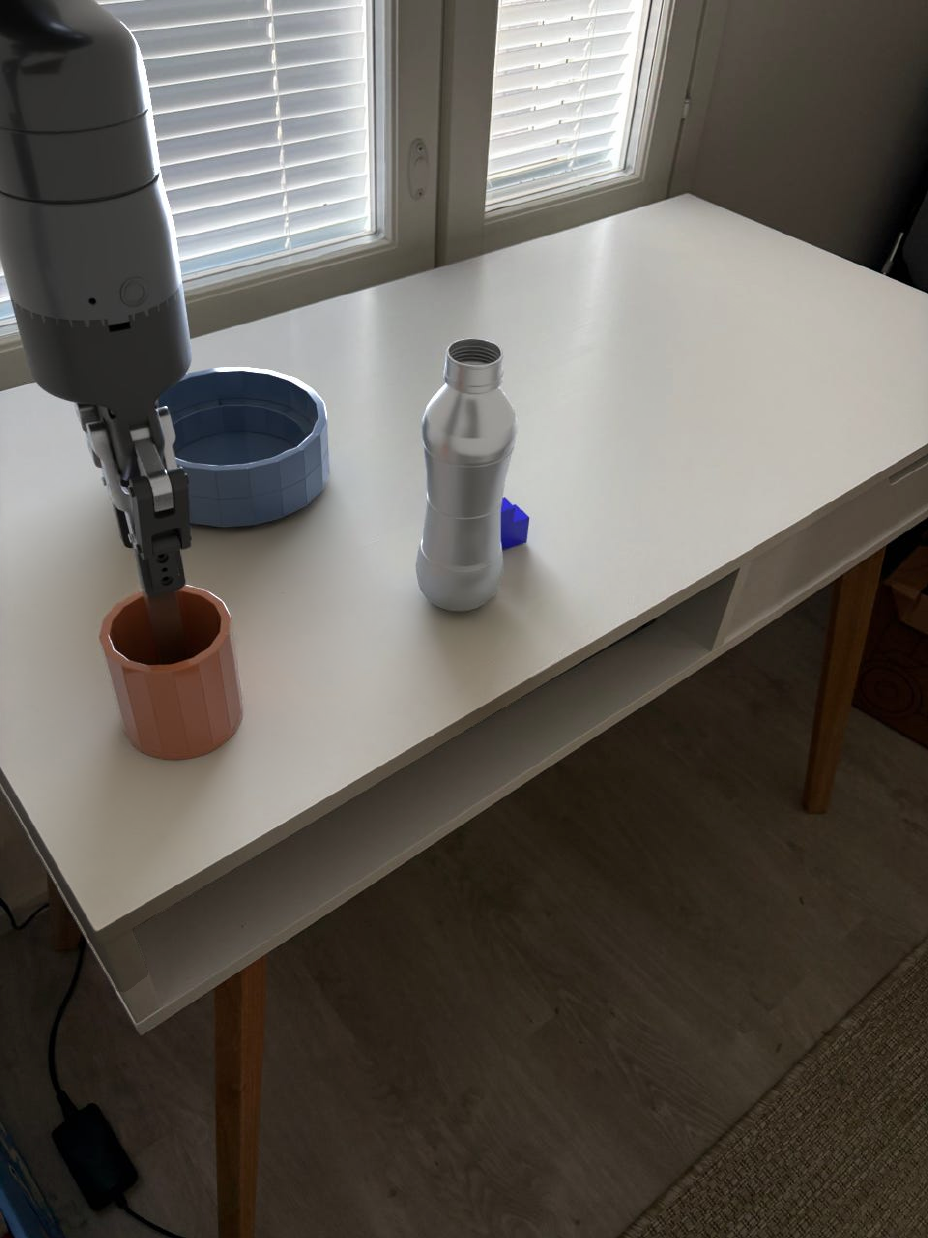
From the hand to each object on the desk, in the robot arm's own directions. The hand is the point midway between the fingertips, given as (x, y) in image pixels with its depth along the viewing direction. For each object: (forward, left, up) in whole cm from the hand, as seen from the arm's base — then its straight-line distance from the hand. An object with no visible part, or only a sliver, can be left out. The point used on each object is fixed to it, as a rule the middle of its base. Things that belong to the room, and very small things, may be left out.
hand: (153, 564), depth 57 cm
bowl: (+12, +24, -13) cm, 30 cm away
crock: (0, 0, -13) cm, 13 cm away
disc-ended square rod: (0, 0, -12) cm, 12 cm away
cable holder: (+28, +10, -13) cm, 32 cm away
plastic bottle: (+22, +3, -13) cm, 26 cm away
